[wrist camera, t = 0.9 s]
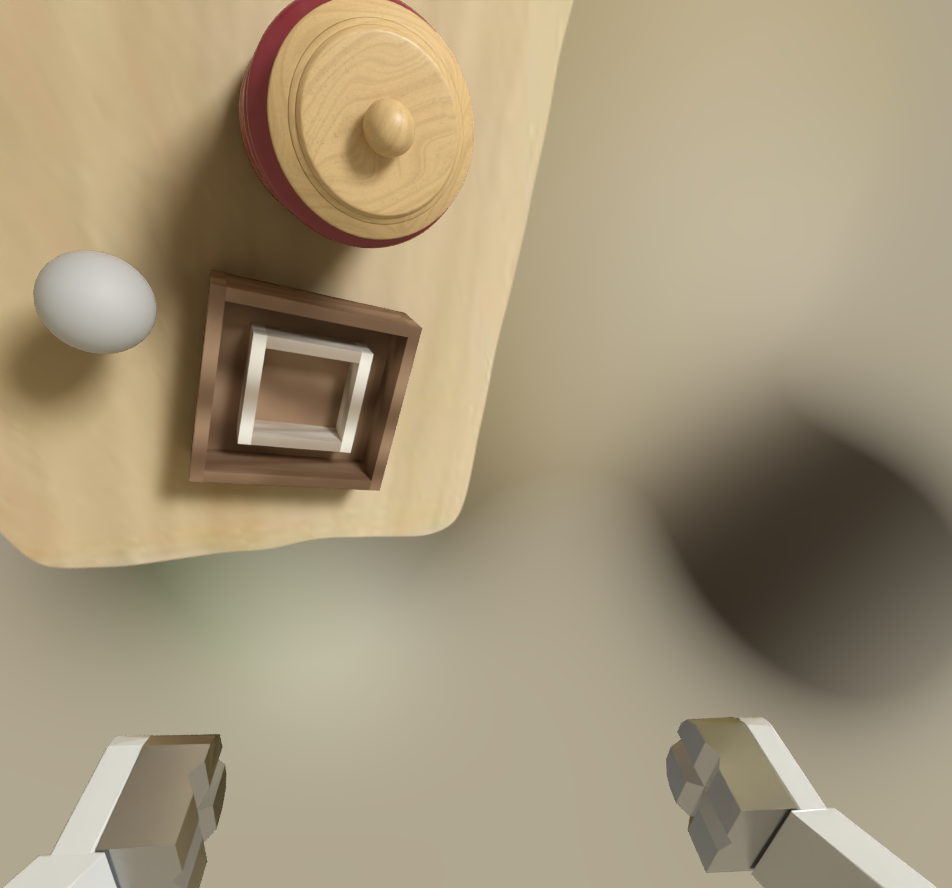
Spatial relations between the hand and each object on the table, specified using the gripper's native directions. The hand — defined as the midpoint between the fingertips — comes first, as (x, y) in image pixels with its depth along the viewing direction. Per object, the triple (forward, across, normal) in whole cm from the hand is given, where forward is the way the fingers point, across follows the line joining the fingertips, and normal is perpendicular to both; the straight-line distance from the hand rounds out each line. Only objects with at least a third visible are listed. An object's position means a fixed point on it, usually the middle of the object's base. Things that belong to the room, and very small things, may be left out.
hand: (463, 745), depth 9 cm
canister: (+42, +7, -11) cm, 44 cm away
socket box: (+41, +10, +9) cm, 43 cm away
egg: (+37, +22, 0) cm, 43 cm away
